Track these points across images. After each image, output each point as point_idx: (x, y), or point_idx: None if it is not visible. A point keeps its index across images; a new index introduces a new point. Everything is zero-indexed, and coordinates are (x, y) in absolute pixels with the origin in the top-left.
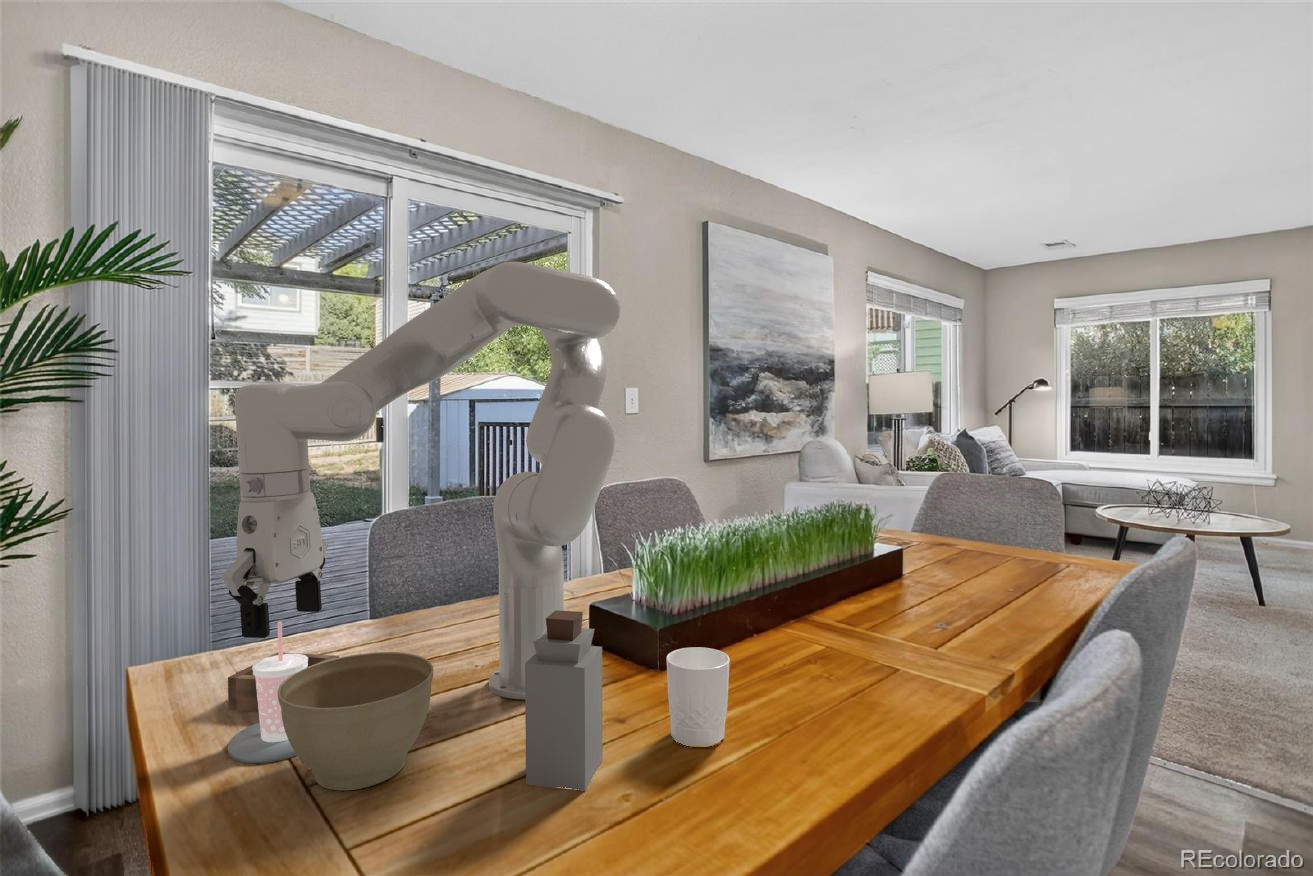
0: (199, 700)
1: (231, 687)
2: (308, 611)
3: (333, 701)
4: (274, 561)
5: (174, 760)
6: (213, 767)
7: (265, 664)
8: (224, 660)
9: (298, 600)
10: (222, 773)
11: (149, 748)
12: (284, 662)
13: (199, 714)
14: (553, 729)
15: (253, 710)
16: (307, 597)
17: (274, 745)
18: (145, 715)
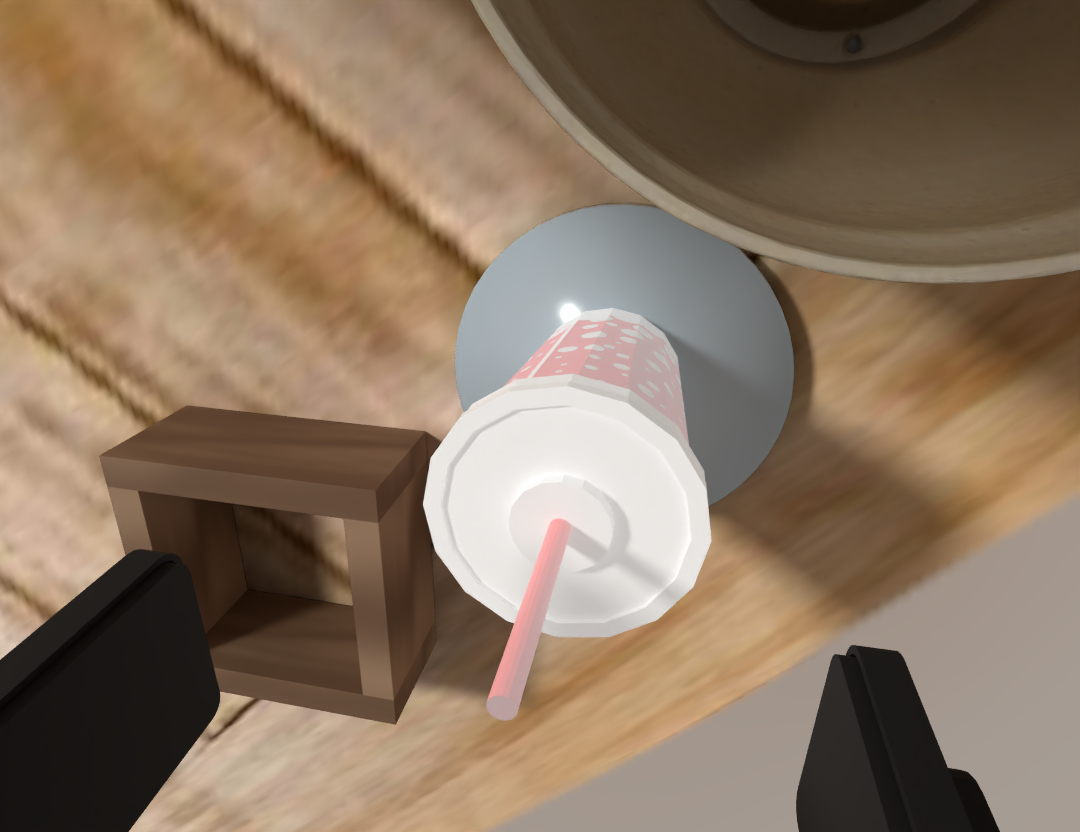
0: (395, 740)
1: (408, 686)
2: (196, 627)
3: (666, 114)
4: None
5: (767, 613)
6: (816, 480)
7: (589, 585)
8: (160, 801)
9: (159, 766)
10: (860, 429)
11: (693, 710)
12: (588, 492)
13: (476, 698)
14: None
15: (430, 572)
16: (114, 725)
17: (704, 351)
18: (505, 810)
